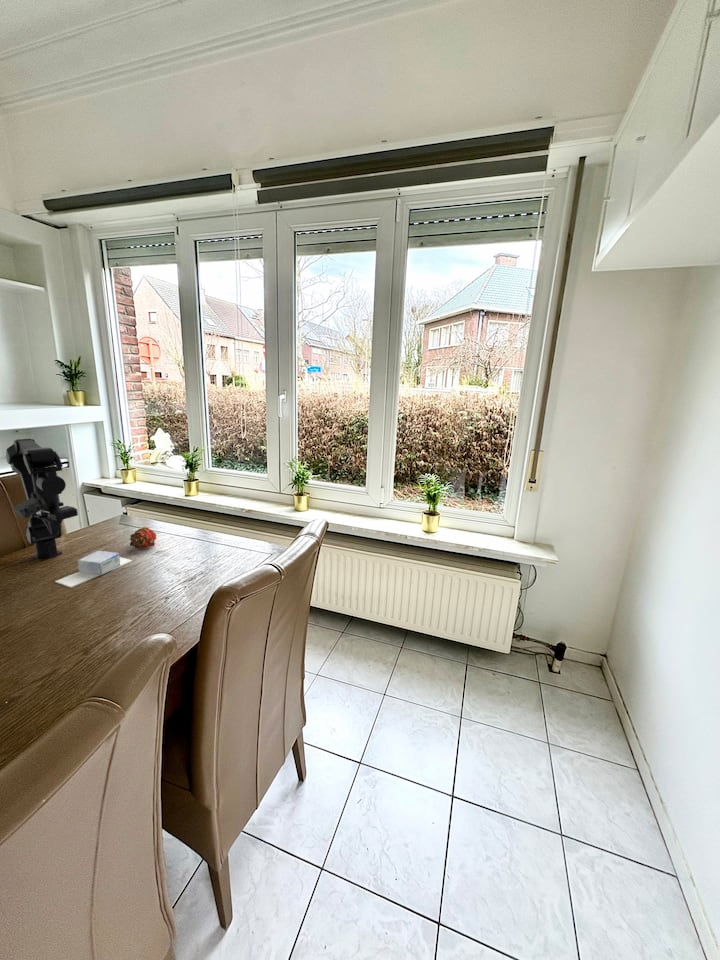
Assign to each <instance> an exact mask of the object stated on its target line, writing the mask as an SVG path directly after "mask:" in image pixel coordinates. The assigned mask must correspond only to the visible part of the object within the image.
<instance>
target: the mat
mask: <svg viewBox="0 0 720 960" xmlns="http://www.w3.org/2000/svg"><path fill="white" fill-rule="evenodd" d="M132 562H133V560H132V559H129V558H125V557H121V556H120V565H119V566H117V567H115V568H113V569H112V570H110V571H108V572H111V571H114V570H116V569H118V568H121V567H122V566H125V565H128V564H129V563H132ZM108 572H106V573H108ZM106 573H105V574H106ZM99 576H101V575H97V574H89V573H81V572H79V571H77V572H75V573H72V574H70V575H66V576H64V577H62V578H60V579H57V580H55V581H54V582H55V583H56V584H59V585H61V586H65V587H67V588H70V589H72V588H75V587H76V586H79V585H81V584H83V583H86V582H87V581H90V580H93V579H95V578H97V577H99Z"/></svg>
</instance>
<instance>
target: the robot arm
mask: <svg viewBox="0 0 720 960" xmlns="http://www.w3.org/2000/svg"><path fill="white" fill-rule="evenodd" d="M5 453H6V454H5V458H6V463H7V465H10V467H11V470H12V472H14V473H16V474H17V475H18V476H19V478H20V481H21V483H22V487H23V490H24V494H25V497H26V500H23V501H22V502H20V503H18V504H16V505H14V506H13V507H12V509H13V511H14V512H15V513H16V515H17V516H18V517H19V518H23V519H28V518H29V521H28V523H27V527H26V534H25V535H26V539H27V541H28V543H29V544H30V545H33V544H34V549H35V554H33V555H31V557H32V558H34V559H37V560H40V561H45V560H48V559H50V558H53V557H57V556H60V555H62V554H63V552H62V551H59V550H58V547H57V542H56V541H57V540H56V539H58V538H59V539H61V538H62V526H63V525H62V523H63V521H64V520H66V519H70V518H73V517H77V516H78V515H79V512H78V509H77V508H75V507H74V506H70V505H65V506H64V502H62V501H61V500H60V495H61V494H62V493H63V492H64V491H65V489H66V487H67V485H66V481H65V479H63V478H62V477H61V476H58V473H57V472H60V471H63V469H62V468H63V463H62V461H61V458H60V456H59V454H57V451H55V450H54V449H53V448H51V447H41V446H40V445H39V444H38V443H37V442H36V441H35V439H34V438H19V439H18V438H17V439H15V440H14V441H13V444H12V445H10V446H9V447H7V448H6V451H5Z"/></svg>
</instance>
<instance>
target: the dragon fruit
mask: <svg viewBox="0 0 720 960" xmlns="http://www.w3.org/2000/svg"><path fill="white" fill-rule="evenodd" d="M129 537H130V538H129V541H130V542H129V546H132V547H134V548H135V549H138V550H143V551H145V550H147V548H151V547H154V546H155V544H156V543H155V541H156V539H157V534H156V532H154V530H152V529H151V528H149V527H146V526H143V527H141V528H138V529H137V530H135V532H133V533H132V534H130V536H129Z"/></svg>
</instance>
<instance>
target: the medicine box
mask: <svg viewBox="0 0 720 960" xmlns="http://www.w3.org/2000/svg"><path fill="white" fill-rule="evenodd" d="M120 557H121V556H120V553H119V552H111V551H104V550H96V551H94V552H92V553H90V554H87V555H85V556H84V557H81V558H80V559H77V564H78V565H77V566H78V572H81V573H89V574H97V575H100V576H103V575H104V574H106V572H107V573H108V571H109V572H111V571H113V570H112V569H113V568H115V567H117V566H119V565H120ZM110 570H111V571H110Z"/></svg>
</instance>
